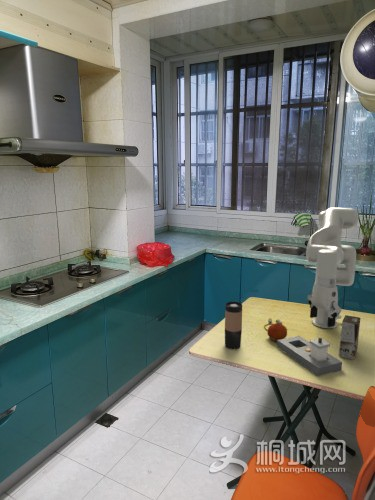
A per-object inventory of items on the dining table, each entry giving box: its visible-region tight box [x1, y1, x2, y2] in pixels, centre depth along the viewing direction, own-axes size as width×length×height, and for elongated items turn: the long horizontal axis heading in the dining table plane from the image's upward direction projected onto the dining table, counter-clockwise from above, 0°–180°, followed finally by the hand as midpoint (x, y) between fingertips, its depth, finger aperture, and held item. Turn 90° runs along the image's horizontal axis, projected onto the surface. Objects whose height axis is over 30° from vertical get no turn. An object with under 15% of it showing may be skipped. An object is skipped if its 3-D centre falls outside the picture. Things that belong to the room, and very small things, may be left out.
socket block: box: [276, 335, 343, 377], centre depth 155 cm, size 12×26×4 cm, turn 23°
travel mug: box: [224, 301, 243, 350], centre depth 164 cm, size 8×8×20 cm
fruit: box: [266, 322, 288, 342], centre depth 172 cm, size 9×9×8 cm
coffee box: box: [338, 314, 361, 360], centre depth 157 cm, size 9×6×16 cm
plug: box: [309, 337, 331, 362], centre depth 148 cm, size 6×6×12 cm
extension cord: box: [263, 317, 288, 332], centre depth 186 cm, size 12×16×2 cm
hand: (321, 321), depth 145 cm, fingers open, 9 cm apart
